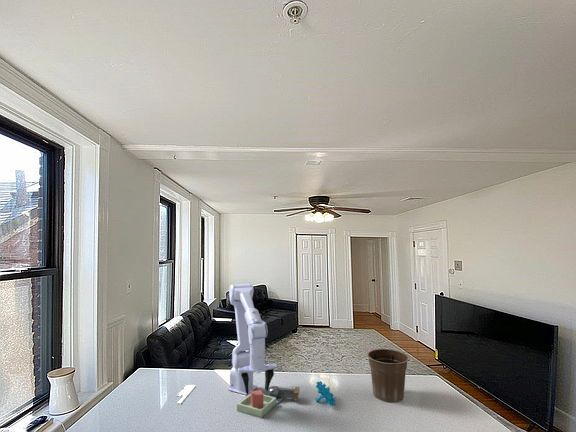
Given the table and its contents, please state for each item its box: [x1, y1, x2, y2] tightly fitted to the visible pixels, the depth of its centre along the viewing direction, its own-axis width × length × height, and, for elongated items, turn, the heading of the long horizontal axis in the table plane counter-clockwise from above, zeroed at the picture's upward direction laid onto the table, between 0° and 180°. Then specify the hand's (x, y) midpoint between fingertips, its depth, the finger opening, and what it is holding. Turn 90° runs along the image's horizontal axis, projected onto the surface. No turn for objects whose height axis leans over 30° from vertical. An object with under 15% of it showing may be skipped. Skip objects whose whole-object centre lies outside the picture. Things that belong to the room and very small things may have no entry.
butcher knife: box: [176, 384, 197, 405], centre depth 138 cm, size 5×15×1 cm, turn 173°
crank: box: [268, 385, 300, 402], centre depth 135 cm, size 12×5×3 cm, turn 83°
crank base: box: [267, 393, 284, 405], centre depth 137 cm, size 6×10×1 cm, turn 153°
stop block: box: [250, 389, 264, 409], centre depth 128 cm, size 4×4×5 cm
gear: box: [315, 380, 336, 407], centre depth 133 cm, size 11×6×10 cm
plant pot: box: [366, 348, 410, 403], centre depth 139 cm, size 16×16×16 cm
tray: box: [236, 392, 277, 419], centre depth 128 cm, size 11×11×2 cm
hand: (256, 391), depth 129 cm, fingers open, 7 cm apart
